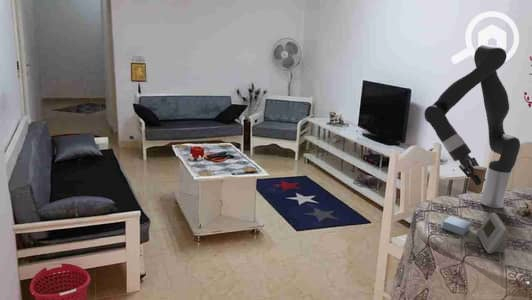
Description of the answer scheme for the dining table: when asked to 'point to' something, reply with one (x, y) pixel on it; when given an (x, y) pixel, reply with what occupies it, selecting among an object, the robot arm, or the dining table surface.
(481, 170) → the walnut pillar
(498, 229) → the digital clock
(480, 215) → the dining table surface
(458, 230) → the pedestal
